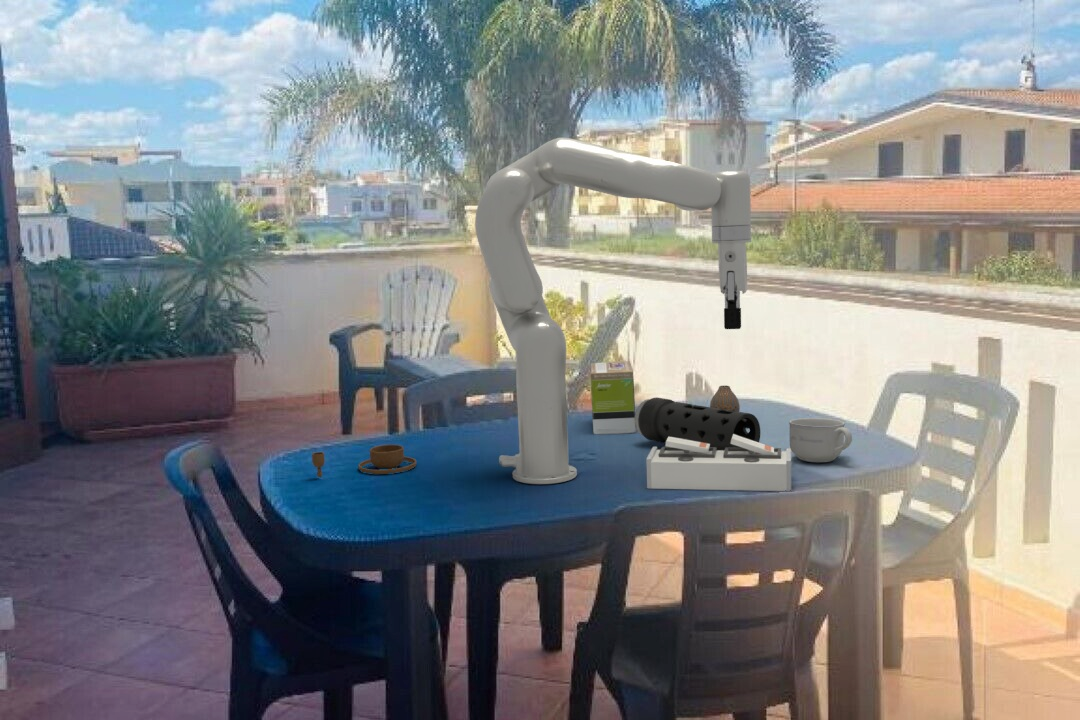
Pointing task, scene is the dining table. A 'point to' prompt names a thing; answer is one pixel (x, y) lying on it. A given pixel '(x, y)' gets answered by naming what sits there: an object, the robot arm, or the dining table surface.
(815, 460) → the teacup
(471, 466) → the dining table surface
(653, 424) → the muzzle brake
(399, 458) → the place setting
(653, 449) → the white switch block
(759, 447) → the outlet rocker
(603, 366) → the tea box
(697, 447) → the outlet rocker
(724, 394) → the vase
